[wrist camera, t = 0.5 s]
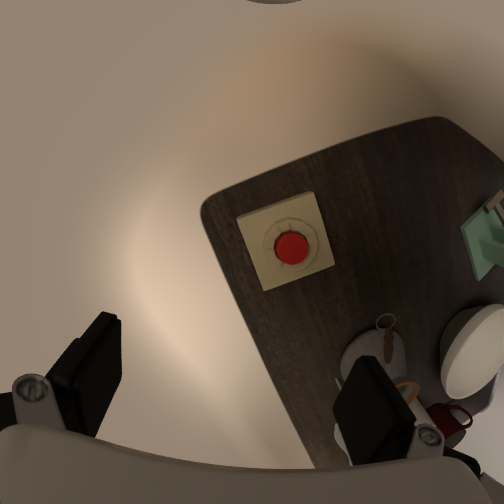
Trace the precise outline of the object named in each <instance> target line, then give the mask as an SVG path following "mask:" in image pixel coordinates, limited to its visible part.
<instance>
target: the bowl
mask: <svg viewBox="0 0 504 504" xmlns="http://www.w3.org/2000/svg"><path fill="white" fill-rule="evenodd" d="M439 347H440V374H441V382H442V384H443V387H444V389H445V391H446V393H447V394H448V395H449V396H450V397H451V398H453V399H462V398H465V397H468V396H470V395H472V394H474V393H475V392H477V391H479V390H480V389H481V388H482V387H484V386H485V385H486V384H487V383H488V382H489V381H490V380H491V379H492V378H493V377H494V376H495V375H496V373H497V372H498V371H499V370H500V368H501V366H502V365H503V364H504V305H502V304H489V305H485V306H478V307H475V308H470V309H465V310H463V311H461V312H460V313H458V314H457V315H456V316H455V317H454V318H453V319H452V320H451V321H450V322H449V324H448V325H447V326H446V328H445V330H444V332H443V334H442V336H441V340H440V345H439Z"/></svg>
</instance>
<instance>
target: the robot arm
mask: <svg viewBox="0 0 504 504" xmlns="http://www.w3.org/2000/svg"><path fill="white" fill-rule="evenodd" d="M121 361H122V360H121V320H119V319H117V316H116V315H115V314H111V313H108V312H104V311H103V312H101V313H100V314H99V316H98V317H97V318H96V319H95V320H94V321H93V323H92V324H91V325H90V326H89V328H88V329H87V330H86V331H85V332H84V334H83V335H82V336H81V337H80V338H76V339H75V340H73V342H72V343H71V344H70V345H69V346H68V348H67V349H66V350H65V351H64V353H63V354H62V355H61V356H60V358H59V359H58V360H57V361H56V363H55V364H54V365H53V367H52V368H51V369H50V370H49V372H48V373H47V374H46V376H45V377H43V376H41V375H38V374H25V375H23V376H20V377H18V378H17V379H16V380H15V381H14V383H13V385H12V392H8V393H1V394H0V504H504V486H503V485H502V484H500V483H499V482H497V481H496V480H494V479H493V478H492V477H490V476H489V475H487V474H486V473H484V472H483V473H482V474H480V472H481V469H480V465H479V464H478V462H477V460H475V459H474V458H472V457H470V456H468V455H465V454H463V453H461V452H458V451H456V450H454V449H451V448H449V447H447V446H444V436H443V433H442V432H441V431H440V430H439V429H438V428H437V427H435V426H433V425H431V424H427V423H422V424H419V425H418V426H415V425H414V423H415V422H416V420H417V418H416V417H415V415H414V414H413V412H412V410H411V409H410V407H409V406H408V404H407V403H406V401H405V400H404V398H403V397H402V395H401V394H400V392H399V391H398V389H397V388H396V386H395V385H394V383H393V382H392V380H391V379H390V377H389V376H388V374H387V373H386V371H385V370H384V368H383V367H382V365H381V364H380V362H379V361H378V360H377V358H376V357H375V356H369V355H362V356H360V357H359V358H357V359H356V360H355V362H354V364H353V366H352V369H351V371H350V373H349V375H348V377H347V379H346V381H345V383H344V385H343V387H342V389H341V391H340V393H339V395H338V397H337V399H336V400H335V402H334V404H333V413H334V416H335V419H336V421H337V424H338V427H339V429H340V432H341V435H342V437H343V440H344V443H345V446H346V448H347V451H348V454H349V456H350V459H351V462H352V465H353V466H346V467H334V468H318V469H260V468H243V467H232V466H222V465H213V464H206V463H199V462H192V461H186V460H181V459H175V458H170V457H165V456H160V455H156V454H152V453H147V452H143V451H139V450H135V449H131V448H127V447H124V446H120V445H116V444H113V443H110V442H106V441H103V440H100V439H96V438H95V437H96V434H97V432H98V430H99V427H100V425H101V423H102V421H103V418H104V416H105V414H106V411H107V409H108V407H109V405H110V403H111V401H112V398H113V396H114V394H115V392H116V390H117V387H118V386H119V383H120V381H121V377H122V362H121Z"/></svg>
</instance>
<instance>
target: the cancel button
mask: <svg viewBox="0 0 504 504" xmlns="http://www.w3.org/2000/svg"><path fill="white" fill-rule="evenodd" d="M276 251H277V253H278V256H279V258H280V259H281V260H282V261H283V262H284V263H286V264H289V265H295V264H298V263H300V262H302V261H303V260H304V259H305V258H306V256H307V254H308V244H307V242H306V240H305V239H304V238H303V237H302V236H301V235H300V234H299V233H296V232H286V233H284V234H282V235H281V236H280V237H279V238H278V240H277V242H276Z"/></svg>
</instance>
